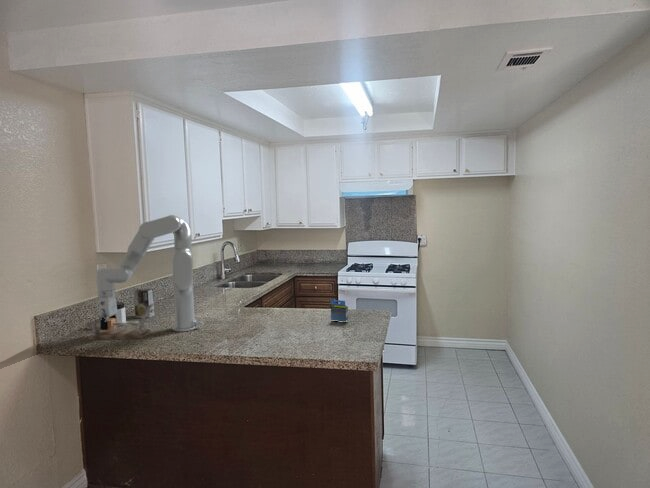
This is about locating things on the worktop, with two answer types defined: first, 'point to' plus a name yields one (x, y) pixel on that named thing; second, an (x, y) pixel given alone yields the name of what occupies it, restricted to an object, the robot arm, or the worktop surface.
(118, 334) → the cube slider rail
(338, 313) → the label tape cartridge
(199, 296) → the worktop surface
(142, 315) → the coffee box
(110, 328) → the sleeve
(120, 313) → the jar
